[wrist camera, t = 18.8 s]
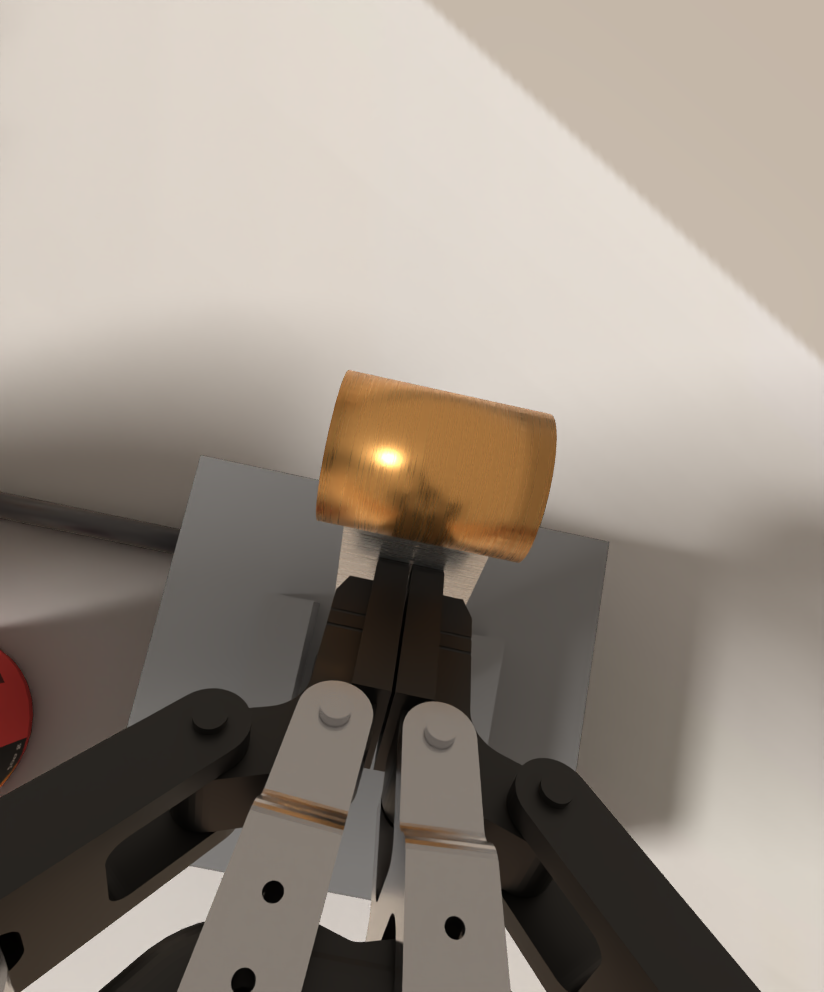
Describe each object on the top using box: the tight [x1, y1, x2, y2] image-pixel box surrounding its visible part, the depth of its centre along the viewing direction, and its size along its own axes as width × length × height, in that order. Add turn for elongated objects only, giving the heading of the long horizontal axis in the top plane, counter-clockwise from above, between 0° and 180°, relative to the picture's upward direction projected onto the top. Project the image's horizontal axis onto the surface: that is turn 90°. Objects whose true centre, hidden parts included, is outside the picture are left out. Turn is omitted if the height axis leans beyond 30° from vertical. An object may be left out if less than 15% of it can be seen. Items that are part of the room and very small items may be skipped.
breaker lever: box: [310, 370, 557, 679], centre depth 17 cm, size 4×3×14 cm
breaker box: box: [0, 455, 609, 900], centre depth 26 cm, size 29×14×11 cm, turn 79°
